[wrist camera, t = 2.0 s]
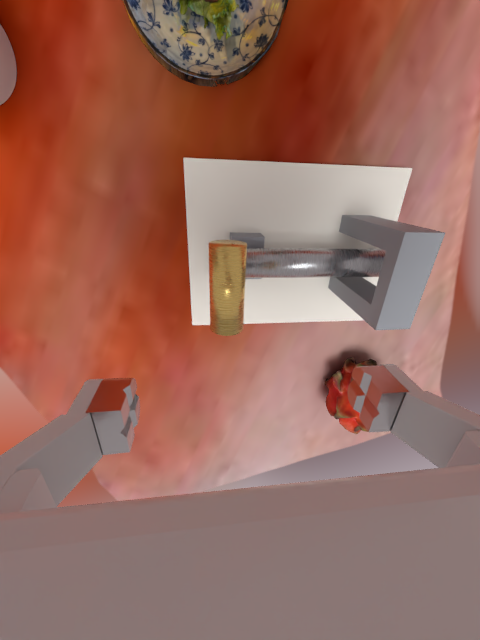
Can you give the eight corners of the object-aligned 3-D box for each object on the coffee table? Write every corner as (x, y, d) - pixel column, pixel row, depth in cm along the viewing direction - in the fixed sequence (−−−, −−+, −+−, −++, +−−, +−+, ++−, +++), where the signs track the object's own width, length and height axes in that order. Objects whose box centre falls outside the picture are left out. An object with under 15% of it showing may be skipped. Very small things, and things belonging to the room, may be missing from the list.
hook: (207, 284, 28) (210, 336, 19) (206, 221, 25) (209, 247, 16) (382, 282, 30) (459, 327, 21) (399, 225, 27) (495, 249, 18)
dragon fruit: (347, 332, 36) (341, 388, 44) (310, 370, 32) (310, 426, 40) (417, 360, 31) (397, 419, 38) (384, 410, 27) (368, 466, 34)
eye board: (192, 321, 31) (188, 381, 22) (183, 158, 24) (172, 147, 15) (364, 316, 34) (425, 368, 25) (405, 168, 26) (513, 164, 17)
